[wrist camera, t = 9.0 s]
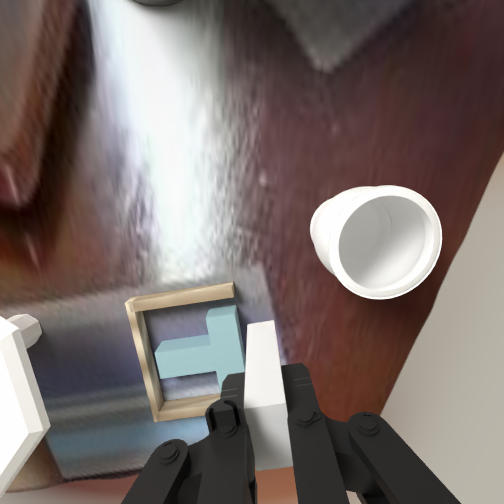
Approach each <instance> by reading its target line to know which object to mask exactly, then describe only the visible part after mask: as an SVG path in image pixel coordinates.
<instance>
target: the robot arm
mask: <svg viewBox="0 0 504 504" xmlns="http://www.w3.org/2000/svg"><path fill="white" fill-rule="evenodd" d="M135 1H137V2H140V3H143V4H146V5H152V6H165V5H170V4H174V3H177V2H180V1H182V0H135ZM205 416H206V421H207V425H208V429H209V435H208V436H207V437H206V438H204V439H203V440H201V441H199V442H197V443H194V444H192V445H190V446H188V445H187V444H186V443H185V442H184V441H183V440H180V439H173V440H169V441H167V442H164V443H163V444H161V445H160V446H159V447H157V449H156V450H155V451H154V452H153V453H152V455H151V456H150V458H149V460H148V461H147V463H146V464H145V466H144V468H143V469H142V471H141V473H140V474H139V476H138V477H137V479H136V481H135V482H134V484H133V486H132V487H131V489H130V490H129V492H128V493H127V495H126V497H125V498H124V500H123V501H122V503H121V504H257V483H256V478H255V467H256V471H260V470H268V469H276V468H283V467H291V466H293V467H294V475H295V482H296V489H297V496H298V504H350V503H349V500H348V496H347V493H346V490H347V491H352V492H356V494H357V497H358V498H359V500H360V502H361V503H362V504H461V503H460V502H459V501H458V500H457V499H456V498H455V496H454V495H453V494H452V493H451V492H450V491H449V490H448V489H447V488H446V486H445V485H444V484H443V483H442V482H441V481H440V480H439V479H438V478H437V477H436V476H435V474H433V472H432V471H431V470H430V469H429V468H428V467H427V466H426V465H425V463H424V462H423V461H422V460H421V459H420V458H419V457H418V456H417V455H416V454H415V453H414V451H413V450H412V449H411V448H410V447H409V446H408V445H407V444H406V443H405V442H404V441H403V439H402V438H401V437H400V436H399V435H398V434H397V433H396V432H395V431H394V430H393V429H392V427H391V426H390V425H389V424H388V423H387V422H386V421H385V420H384V419H383V418H381V417H380V416H379V415H376V414H374V413H369V412H360V413H356V414H354V415H353V416H351V417H350V419H349V420H348V422H341V421H336V420H332V419H330V418H328V417H327V416H325V415H324V414H323V413H322V412H321V410H320V408H319V405H318V402H317V398H316V395H315V391H314V388H313V384H312V381H311V378H310V374H309V371H308V368H307V367H305V366H304V365H303V364H302V363H297V364H290V365H283V366H281V361H280V355H279V349H278V343H277V337H276V331H275V325H274V320H273V321H266V322H260V323H253V324H248V326H247V348H246V370H245V372H241V373H234V374H228V375H227V376H226V378H225V379H224V381H223V382H222V388H221V395H220V399H219V400H217V401H215V402H213V403H212V404H211V405H210V406H209V407H208V408H207V410H206V412H205Z"/></svg>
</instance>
